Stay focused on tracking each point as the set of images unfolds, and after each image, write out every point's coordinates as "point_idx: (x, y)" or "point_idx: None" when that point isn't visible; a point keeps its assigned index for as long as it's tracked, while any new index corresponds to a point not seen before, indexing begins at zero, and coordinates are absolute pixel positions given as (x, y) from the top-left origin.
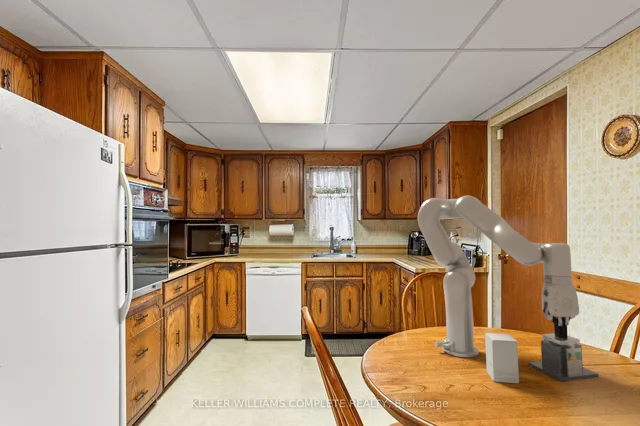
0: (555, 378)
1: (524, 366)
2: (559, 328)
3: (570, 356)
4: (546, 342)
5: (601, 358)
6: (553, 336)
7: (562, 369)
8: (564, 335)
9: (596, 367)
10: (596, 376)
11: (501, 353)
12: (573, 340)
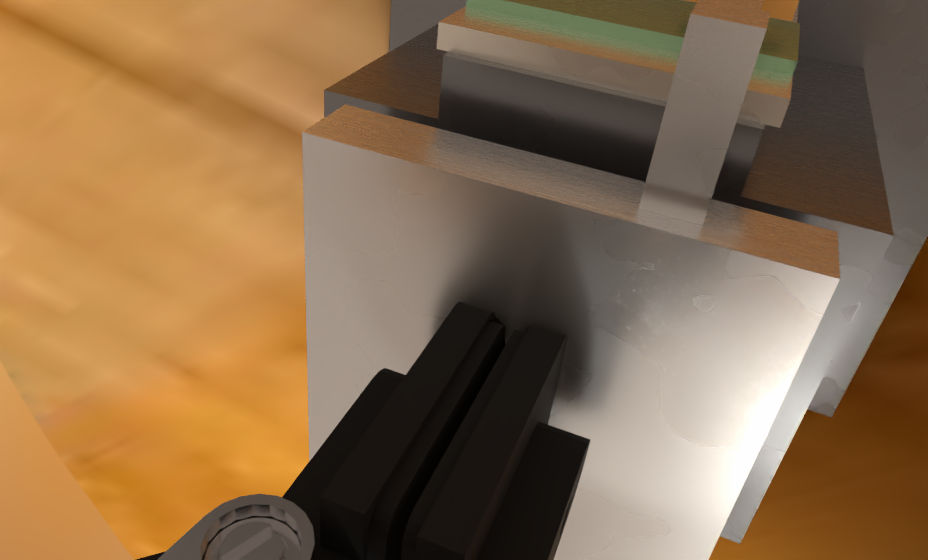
0: None
1: (912, 405)
2: (523, 548)
3: (777, 15)
4: (763, 464)
5: (32, 139)
6: (619, 478)
7: (810, 71)
8: (518, 356)
9: (218, 38)
10: None
11: None
12: (459, 171)
